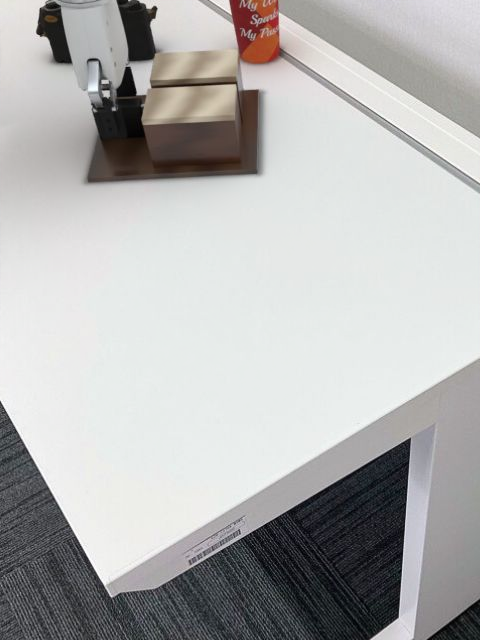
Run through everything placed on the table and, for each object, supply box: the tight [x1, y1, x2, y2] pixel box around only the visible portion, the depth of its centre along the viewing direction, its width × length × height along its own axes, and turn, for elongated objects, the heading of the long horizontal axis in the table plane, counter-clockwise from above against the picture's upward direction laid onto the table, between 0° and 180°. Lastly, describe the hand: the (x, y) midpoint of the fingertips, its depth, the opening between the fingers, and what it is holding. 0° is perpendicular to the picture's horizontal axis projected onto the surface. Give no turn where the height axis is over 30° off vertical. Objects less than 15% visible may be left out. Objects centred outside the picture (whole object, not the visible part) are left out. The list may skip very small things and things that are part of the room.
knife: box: [91, 98, 146, 139], centre depth 99 cm, size 18×2×4 cm, turn 94°
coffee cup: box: [228, 0, 281, 64], centre depth 110 cm, size 8×8×15 cm
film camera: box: [35, 0, 159, 64], centre depth 114 cm, size 18×12×10 cm
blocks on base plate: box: [86, 48, 260, 183], centre depth 99 cm, size 21×19×8 cm
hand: (120, 115), depth 99 cm, fingers open, 9 cm apart
